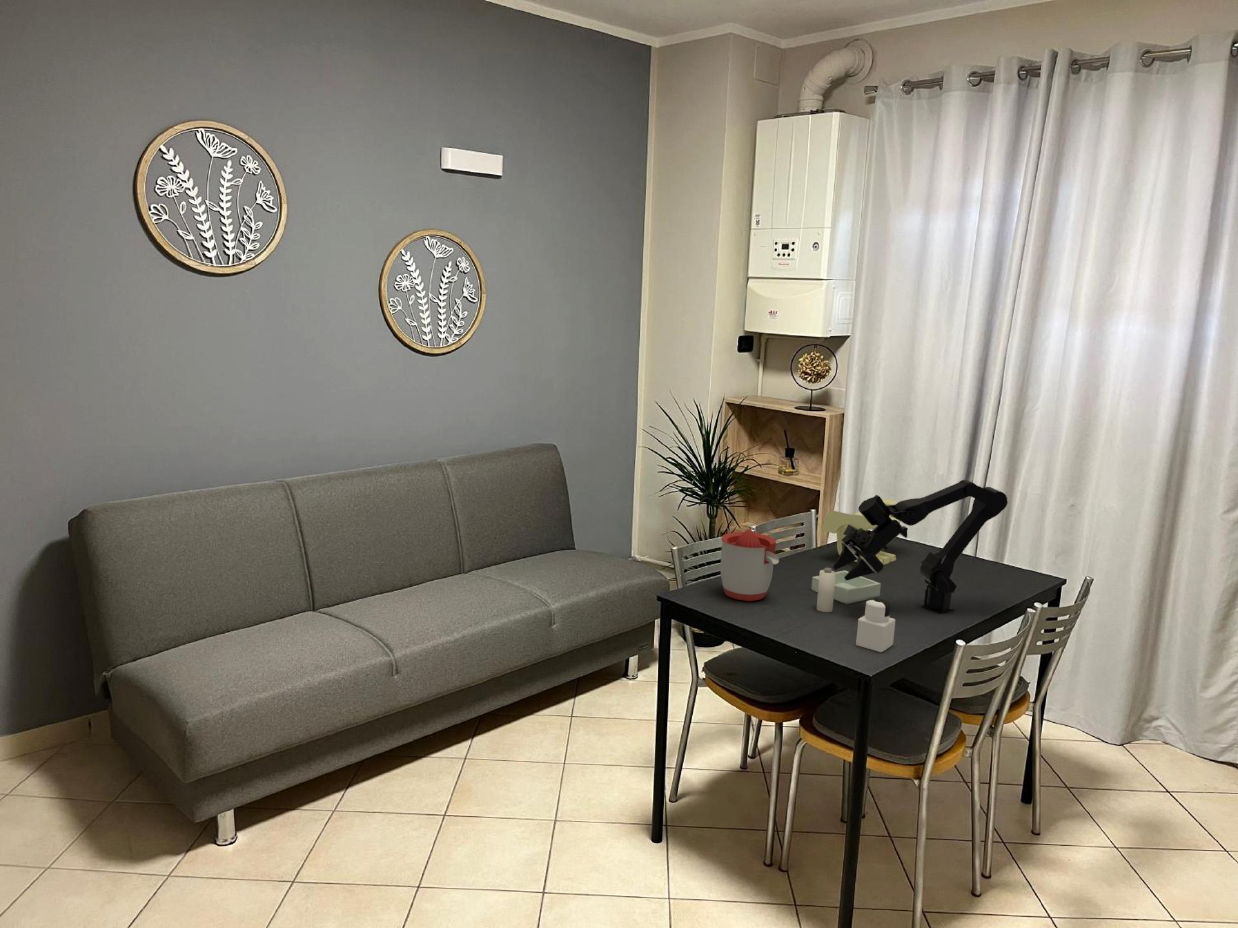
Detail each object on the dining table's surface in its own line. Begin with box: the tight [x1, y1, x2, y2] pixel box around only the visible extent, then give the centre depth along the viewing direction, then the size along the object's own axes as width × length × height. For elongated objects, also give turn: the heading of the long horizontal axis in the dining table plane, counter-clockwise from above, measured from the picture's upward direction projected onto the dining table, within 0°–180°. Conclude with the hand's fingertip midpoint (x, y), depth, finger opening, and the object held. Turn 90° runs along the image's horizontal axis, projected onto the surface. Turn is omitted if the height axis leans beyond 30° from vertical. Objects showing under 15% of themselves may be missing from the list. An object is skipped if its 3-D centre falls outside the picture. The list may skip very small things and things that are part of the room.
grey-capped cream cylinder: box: [816, 567, 837, 613], centre depth 260 cm, size 4×4×12 cm
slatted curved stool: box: [822, 497, 901, 566], centre depth 311 cm, size 30×16×18 cm, turn 136°
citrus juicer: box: [720, 528, 780, 602], centre depth 268 cm, size 16×17×20 cm
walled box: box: [811, 570, 882, 605], centre depth 275 cm, size 14×14×4 cm
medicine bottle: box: [855, 597, 896, 653], centre depth 235 cm, size 7×7×12 cm
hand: (839, 573), depth 260 cm, fingers open, 9 cm apart
